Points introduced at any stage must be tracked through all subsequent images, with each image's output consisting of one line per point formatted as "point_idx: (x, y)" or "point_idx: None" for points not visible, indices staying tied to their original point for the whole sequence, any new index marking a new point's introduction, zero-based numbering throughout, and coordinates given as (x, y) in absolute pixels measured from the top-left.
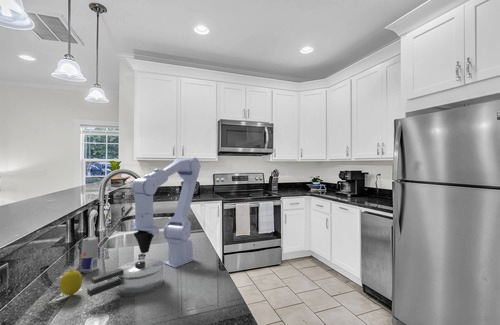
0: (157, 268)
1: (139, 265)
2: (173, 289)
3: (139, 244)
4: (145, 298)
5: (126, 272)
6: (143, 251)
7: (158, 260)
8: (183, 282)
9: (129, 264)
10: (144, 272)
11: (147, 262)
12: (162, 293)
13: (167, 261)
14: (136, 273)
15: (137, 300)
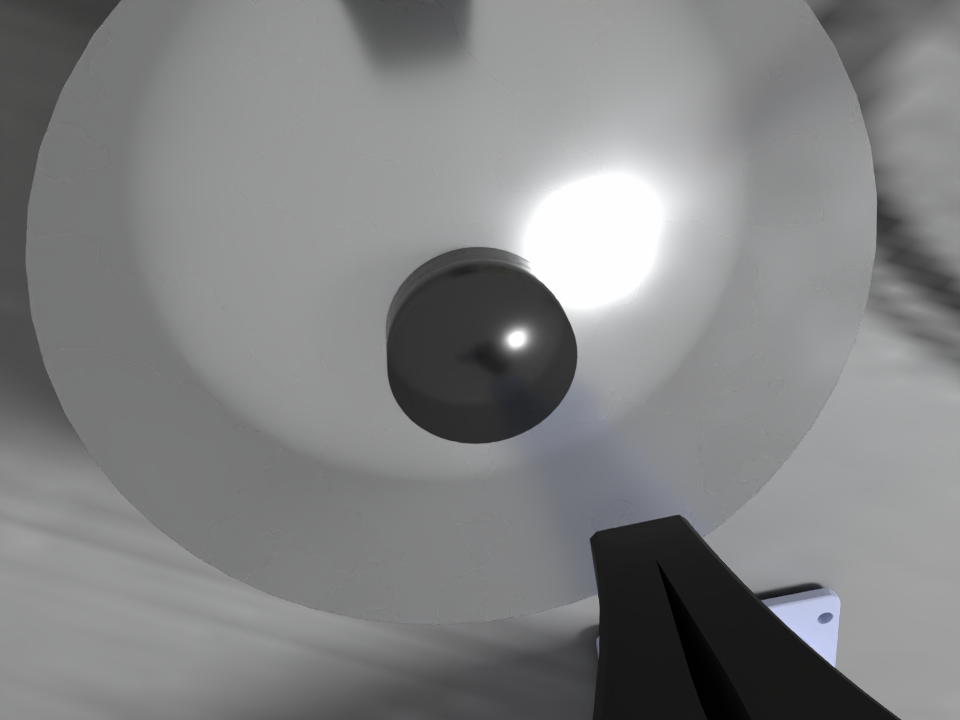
0: (149, 509)
1: (393, 322)
2: (60, 459)
3: (758, 663)
4: (5, 141)
5: (357, 34)
6: (600, 574)
7: (515, 601)
8: (172, 580)
9: (766, 210)
10: (91, 306)
11: (574, 466)
12: (27, 341)
13: (813, 628)
14: (144, 179)
15: (5, 36)
